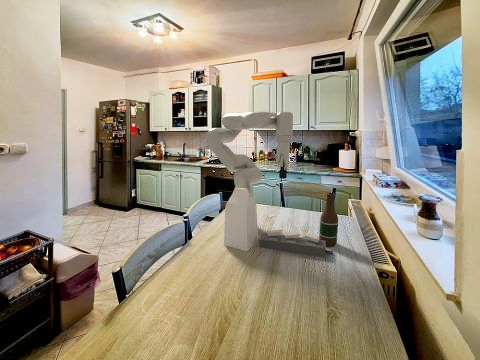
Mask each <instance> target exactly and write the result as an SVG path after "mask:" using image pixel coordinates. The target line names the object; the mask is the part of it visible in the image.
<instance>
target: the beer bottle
mask: <svg viewBox="0 0 480 360" xmlns="http://www.w3.org/2000/svg"><path fill="white" fill-rule="evenodd" d="M335 196H336V194H335V193H334V192H327V193H326V201H325V207H324V211H323V212H322V213H321V215H320V219H319V220H320V221H319V235H318V237H319V240H325V241H326V248H335V247H336V245H337V243H338V232H339V230H338V228H339V216H338V213H337V212H336V209H335Z"/></svg>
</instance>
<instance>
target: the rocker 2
mask: <svg viewBox="0 0 480 360" xmlns="http://www.w3.org/2000/svg"><path fill="white" fill-rule="evenodd" d="M303 238H305V239H308V240H311V241H314V242H317V243H318V241H319V235H318V236H317V235H314V234H311V233H308V232H305V234H304V236H303Z"/></svg>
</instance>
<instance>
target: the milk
mask: <svg viewBox="0 0 480 360" xmlns="http://www.w3.org/2000/svg"><path fill="white" fill-rule="evenodd" d="M224 208H225V209H224V228H223V229H224V230H223V231H224V232H223V233H224V235H223V236H224V237H223V246H224V247H225V246H226V247H230V248H234V249H238V250H242V251H246V252H248V251H249V250H250V249H251V248H252V247H253V246H255V244H257V243H259V233H258V232H259V230H258V229H259V228H258V210H257V208H258V205H257V202H256V200H255V199H254V197H253V198H252V197H251V196H250V194H249V191H248V189H244V188H235V187H234V189H233V192H232V194H231V196H230V197H229V199H228V201H227V202H226V204H225V207H224Z"/></svg>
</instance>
